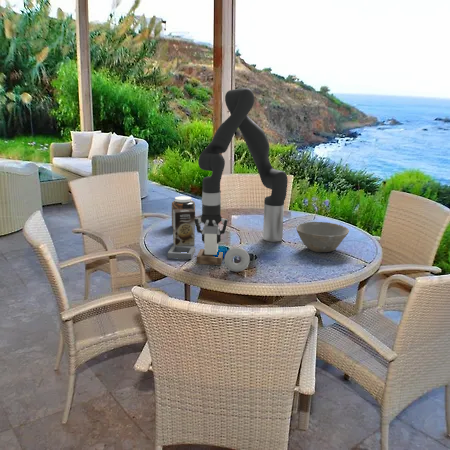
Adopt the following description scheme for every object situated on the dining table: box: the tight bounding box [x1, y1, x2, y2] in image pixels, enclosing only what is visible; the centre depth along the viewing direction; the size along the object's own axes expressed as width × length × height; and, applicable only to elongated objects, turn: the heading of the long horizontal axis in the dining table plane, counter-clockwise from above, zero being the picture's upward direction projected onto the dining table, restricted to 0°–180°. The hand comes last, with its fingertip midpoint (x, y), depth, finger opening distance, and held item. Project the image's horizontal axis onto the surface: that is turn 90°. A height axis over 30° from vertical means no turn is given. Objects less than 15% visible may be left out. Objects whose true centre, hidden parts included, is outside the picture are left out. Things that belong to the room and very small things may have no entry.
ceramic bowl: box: [296, 221, 350, 253], centre depth 222 cm, size 22×23×10 cm
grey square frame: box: [167, 245, 196, 260], centre depth 212 cm, size 10×10×2 cm
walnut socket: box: [196, 248, 224, 266], centre depth 207 cm, size 10×10×3 cm
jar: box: [171, 195, 196, 228], centre depth 253 cm, size 12×12×15 cm
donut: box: [223, 246, 251, 273], centre depth 194 cm, size 10×4×10 cm, turn 91°
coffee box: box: [172, 209, 196, 247], centre depth 225 cm, size 9×6×16 cm
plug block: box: [203, 225, 219, 255], centre depth 205 cm, size 5×5×12 cm
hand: (211, 242), depth 205 cm, fingers closed on plug block, 5 cm apart
